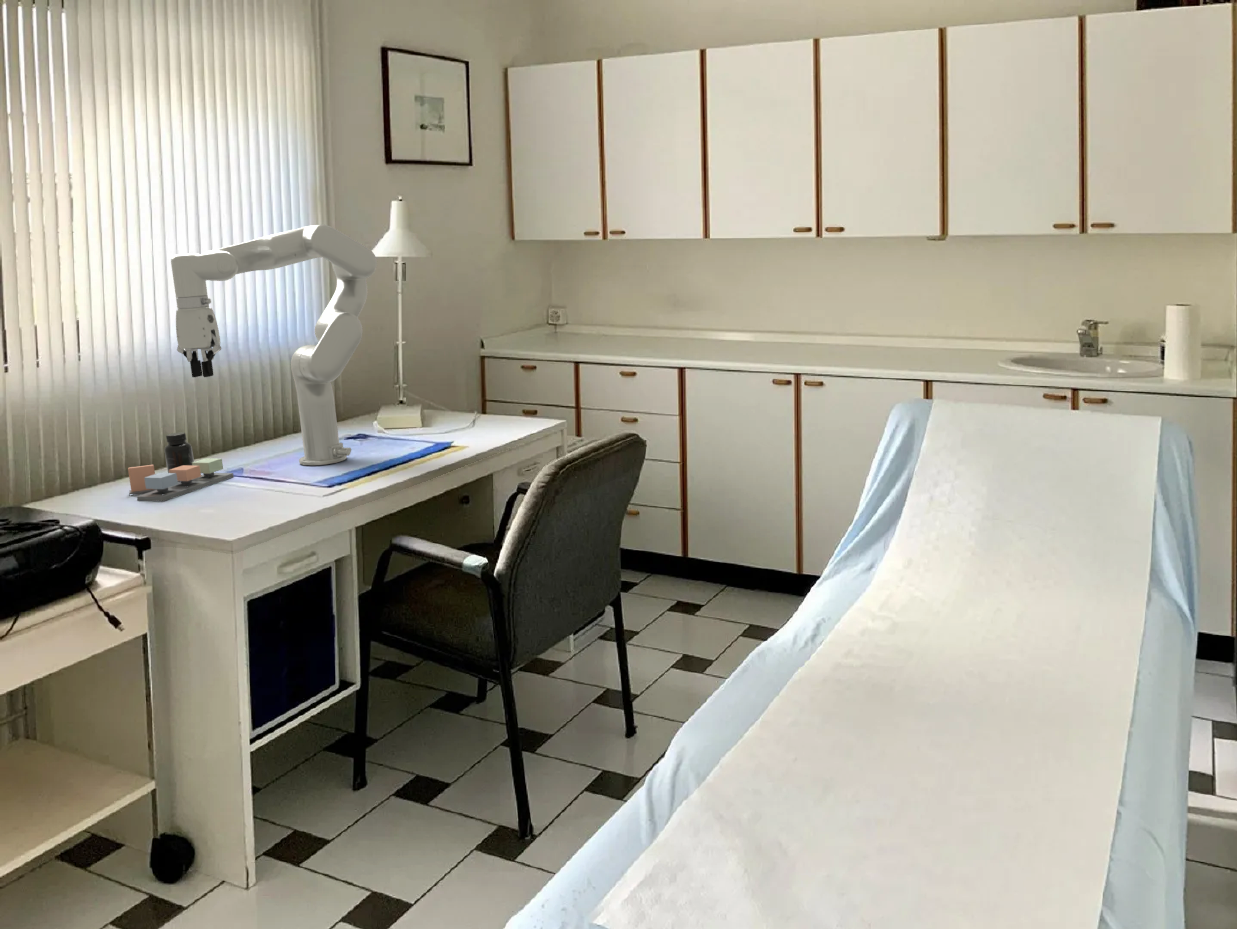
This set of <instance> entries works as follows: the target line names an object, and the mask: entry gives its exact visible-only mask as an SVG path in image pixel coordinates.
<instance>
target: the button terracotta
mask: <svg viewBox="0 0 1237 929" xmlns="http://www.w3.org/2000/svg"><path fill="white" fill-rule="evenodd" d="M169 473H176V474H177V481H178V482H181V484H186V483H191V482H192V479H195V478H198V477H201V475H202V473H201V472H200V466H192V465H183V466H179V467H176V468H173V469H170V470H169Z"/></svg>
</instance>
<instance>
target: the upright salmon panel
mask: <svg viewBox="0 0 1237 929" xmlns="http://www.w3.org/2000/svg"><path fill="white" fill-rule="evenodd" d="M127 471H128V472H127V473H128V477H129V485H130V490H129V492H128V493H129V494H139V495H143V494H146V493H149V492H152V491H155V490H157V489H146V485H145V477H148V476H151V475H154V474H156V472H155V471H156V470H155V466H154V464H149V465H148V464H147V465H141V466H139V465H138V466H131V467H127Z"/></svg>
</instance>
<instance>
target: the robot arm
mask: <svg viewBox="0 0 1237 929" xmlns="http://www.w3.org/2000/svg"><path fill="white" fill-rule="evenodd" d="M318 258H323V259H324V260H325V261H328V262H330V263H331V266H332V271H333V273H334V274H335V275H334V276H335V278H336V288H335V290H334V293H333V295H332V297H331V299H330V301H329V302H328V303H327V305H326V307H325V309H323V311H322V313H321V315H320V316H319V318H318V319H317V321H316V323H315V326H314V335H315V337H316V339H317V340H318V343H317V344H316V345H315V344H306V345H302V346H301V347H299V348H297V349H296V350H295V351H294V353H293V354H292V356H291V360H290V368H291V373H292V379H293V380H294V386H295V390H296V397H297V404H298V413H299V421H300V422H299V423H300V429H301V430H300V431H301V439H302V447H303V448H302V449H303V453H304V454H303V456H302V457H300V458H299V459H298V462H299V463H298V464H300V465H302V466H323V465H329V464H330V465H331V464H336V463H340V462H344V461H346V460H347V459H348V458H347V456H350V455H351V453H352V448H351V447H344V443H343V442H340V438H339V429H338V422H337V420H338V419H337V413H336V412H337V411H336V405H335V404H336V401H335V394H334V388H333V384H332V382H333V381H335V380H336V379H338V377H339V376H341V374H342V373H343V372H344V370H345V368H346V367H347V365H348V363H349V362H350V360H351V358H352V357H353V355H354V353H355V352H356V350H357V348H358V346H359V344H360V343H361V341H362V337H363V325H362V322H361V320H360V319H359V317H360V314H361V312H362V311H363V309H364V307H365V305H366V302H367V299H368V291H369V290H368V283H367V279H368V278H370V277H371V276H372V275H374V274H375V272H376V270H377V266H378V260H377V257H376V254H375V253H374V252H373V250H371V249H370V248H369V247H367V246H366V245H364V244H363V243H361V242H359V241H358V240H355V239H354V238H352V237H350V236H349V235H347V234H345V233H343V232H342V231H340V230H339V229H337V228H335V227H334V226H333V227H332V226H330V225H328V224H314V225H313V224H312V225H307V226H302V227H299V228H294V229H290V230H285V231H283V232H278V233H273V234H270V235H266V236H262V237H258V238H255V239H252V240H249V241H248V240H247V241H245V242H241V243H237V244H232V245H228V246H223V247H221V248H215V249H212V250H208V251H205V252H203V253H201V254H200V253H193V252H192V253H179V254H174V255H173V256H172V257H171V259H170V265H171V272H172V278H173V285H174V287H173V288H174V292H175V301H176V307H177V309H176V311H175V330H176V340H177V344H178V345H177V349H176V351H177V352H178V353H180V354H181V355H183V356H184V357H185V358H186V359H187V362H189V364H190V371H191V378H198V377H199V378H200V377H203V378H209V377H213V376H214V369H213V362H212V361H214V358H215V356H216V354H217V353H219V352H220V351H222V346H221V336H220V331H219V325H218V321H217V318H216V316H215V312H214V310H213V308H212V307H210V304H212V299H211V298H210V297H209V296H208V295H209V294H208V288H207V281H209V282H210V281H214V282H225V281H228V280H229V281H230V280H231V279H233V277H235V276H236V275H240V274H243V273H244V274H245V273H249V272H256V271H270V270H274V269H275V270H276V269H279V268H284V267H287V266H290V265H295V264H299V263H302V262H306V261H309V260H312V259H313V260H314V259H318ZM198 350H200V352H201V358H202V361H201V360H200V359H199V351H198Z"/></svg>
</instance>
